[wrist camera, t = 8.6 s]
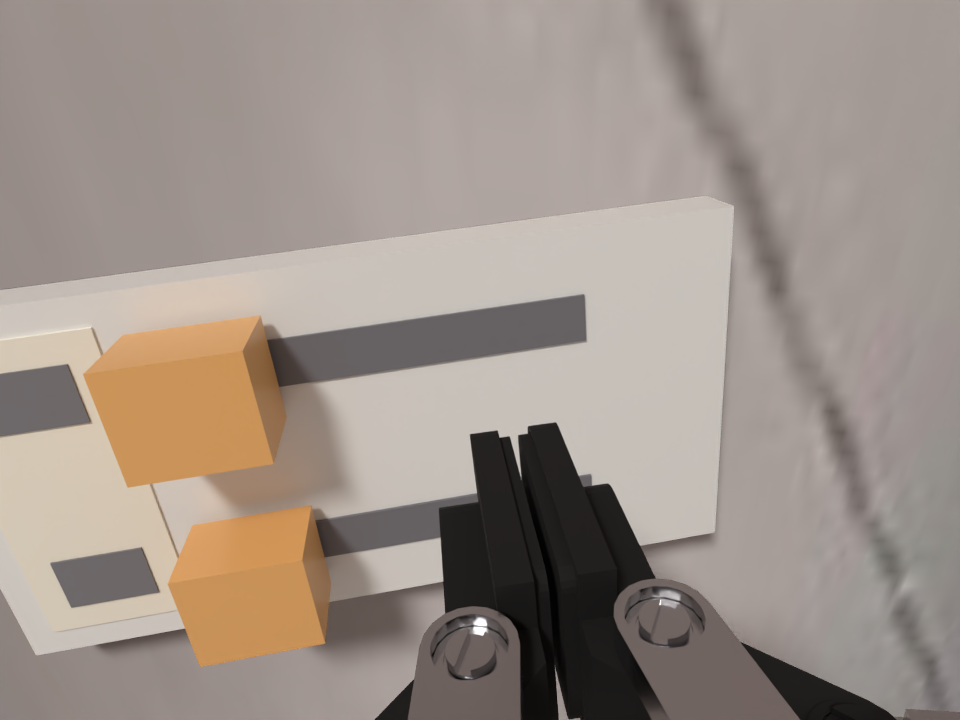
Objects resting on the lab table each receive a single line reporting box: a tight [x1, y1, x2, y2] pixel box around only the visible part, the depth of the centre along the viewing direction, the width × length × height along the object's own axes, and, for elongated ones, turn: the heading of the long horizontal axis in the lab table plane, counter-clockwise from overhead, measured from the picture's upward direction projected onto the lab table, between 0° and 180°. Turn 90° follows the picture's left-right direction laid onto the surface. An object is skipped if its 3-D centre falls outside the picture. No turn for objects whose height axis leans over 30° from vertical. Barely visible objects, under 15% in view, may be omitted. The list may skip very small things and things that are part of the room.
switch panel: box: [0, 196, 734, 655], centre depth 23 cm, size 26×13×2 cm, turn 96°
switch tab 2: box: [168, 505, 331, 667], centre depth 21 cm, size 4×4×3 cm
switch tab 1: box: [83, 315, 287, 488], centre depth 19 cm, size 4×4×3 cm
